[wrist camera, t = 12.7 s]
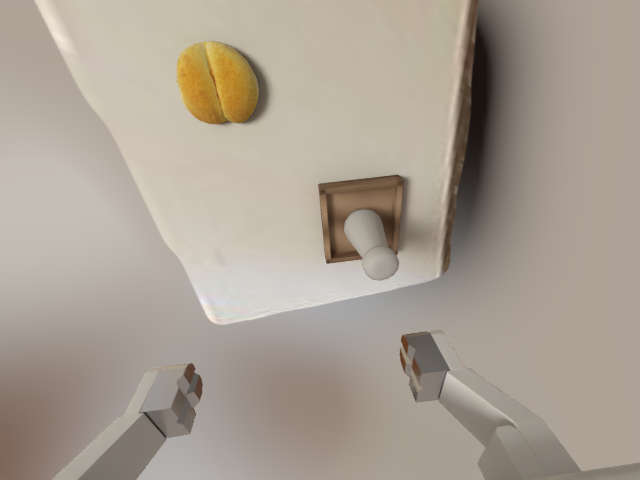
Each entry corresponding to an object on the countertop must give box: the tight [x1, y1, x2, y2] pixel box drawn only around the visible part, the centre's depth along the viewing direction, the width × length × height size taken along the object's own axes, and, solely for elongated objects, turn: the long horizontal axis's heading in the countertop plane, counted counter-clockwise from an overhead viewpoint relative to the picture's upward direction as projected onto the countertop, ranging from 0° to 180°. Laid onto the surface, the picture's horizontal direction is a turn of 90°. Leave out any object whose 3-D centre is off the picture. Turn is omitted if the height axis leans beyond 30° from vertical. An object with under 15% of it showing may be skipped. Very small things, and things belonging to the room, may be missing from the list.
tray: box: [318, 175, 403, 264], centre depth 41 cm, size 13×12×2 cm
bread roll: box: [177, 41, 259, 124], centre depth 30 cm, size 8×9×4 cm
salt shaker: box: [344, 209, 399, 281], centre depth 36 cm, size 6×6×13 cm
